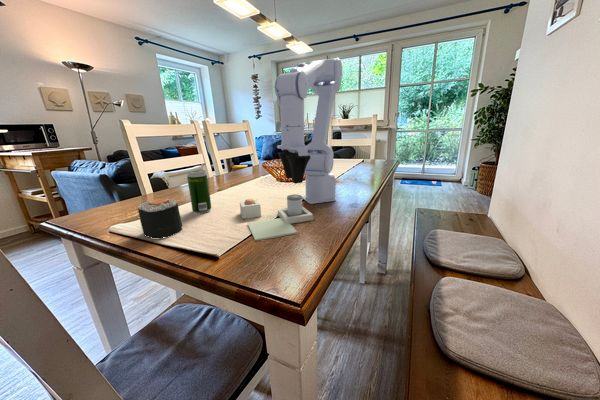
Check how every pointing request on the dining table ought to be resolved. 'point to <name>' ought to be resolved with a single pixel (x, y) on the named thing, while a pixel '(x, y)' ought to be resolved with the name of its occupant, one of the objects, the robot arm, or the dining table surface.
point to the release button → (249, 201)
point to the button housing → (250, 209)
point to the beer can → (199, 191)
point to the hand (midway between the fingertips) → (293, 180)
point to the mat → (271, 229)
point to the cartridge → (294, 205)
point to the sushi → (160, 218)
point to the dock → (295, 219)
